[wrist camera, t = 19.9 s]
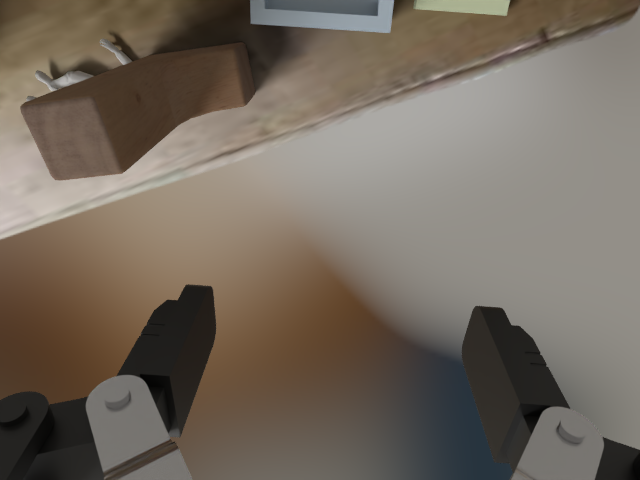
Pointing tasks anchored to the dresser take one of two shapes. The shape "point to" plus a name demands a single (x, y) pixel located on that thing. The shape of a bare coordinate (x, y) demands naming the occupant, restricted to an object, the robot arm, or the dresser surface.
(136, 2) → the dresser surface
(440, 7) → the lid
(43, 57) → the dresser surface
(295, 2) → the blue-grey open box
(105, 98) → the wooden block
